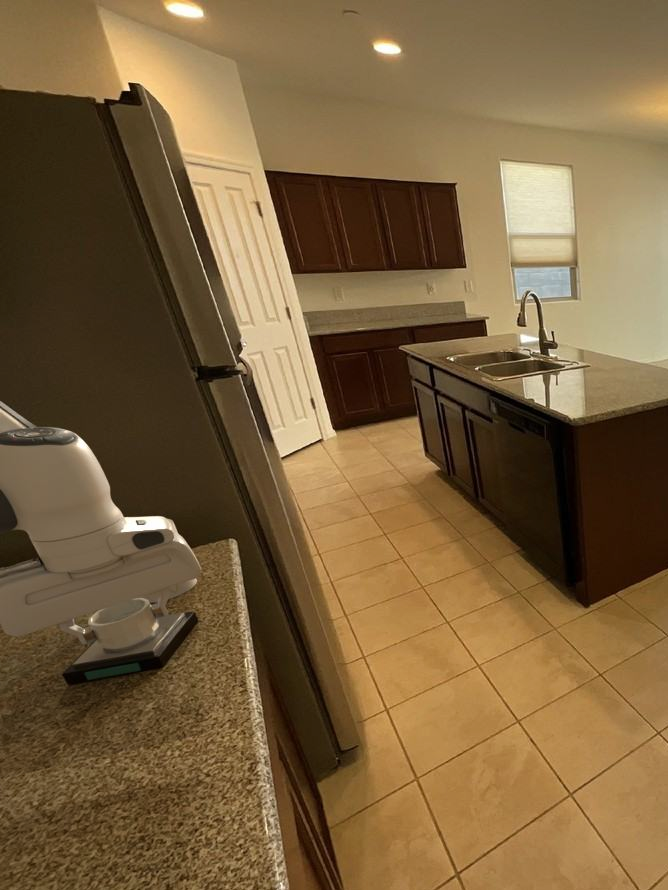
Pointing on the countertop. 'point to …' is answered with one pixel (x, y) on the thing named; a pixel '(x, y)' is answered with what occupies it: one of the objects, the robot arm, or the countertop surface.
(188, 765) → the countertop surface
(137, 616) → the bowl
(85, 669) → the scale
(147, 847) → the countertop surface
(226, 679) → the countertop surface
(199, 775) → the countertop surface
